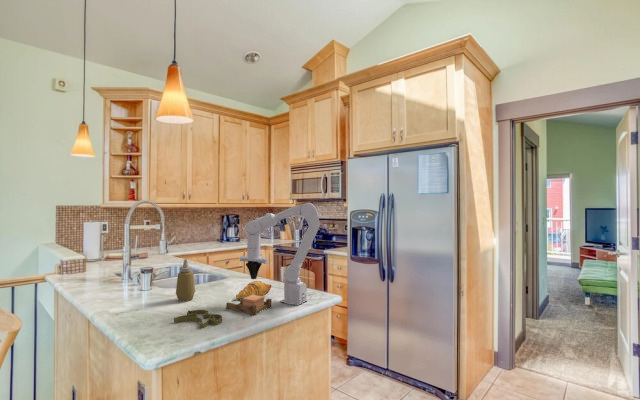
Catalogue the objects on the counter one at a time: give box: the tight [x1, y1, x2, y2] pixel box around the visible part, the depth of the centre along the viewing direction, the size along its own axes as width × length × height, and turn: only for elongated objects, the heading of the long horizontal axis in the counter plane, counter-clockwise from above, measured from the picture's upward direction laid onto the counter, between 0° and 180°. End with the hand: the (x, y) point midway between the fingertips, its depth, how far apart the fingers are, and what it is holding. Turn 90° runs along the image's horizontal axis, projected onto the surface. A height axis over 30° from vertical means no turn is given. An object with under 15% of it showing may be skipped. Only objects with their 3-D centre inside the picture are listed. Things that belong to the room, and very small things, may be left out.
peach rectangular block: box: [243, 295, 265, 308], centre depth 136 cm, size 6×6×4 cm
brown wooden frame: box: [225, 298, 272, 316], centre depth 138 cm, size 15×11×4 cm
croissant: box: [235, 280, 272, 300], centre depth 157 cm, size 21×10×8 cm, turn 144°
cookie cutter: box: [173, 309, 223, 329], centre depth 124 cm, size 18×12×2 cm, turn 65°
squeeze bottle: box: [175, 258, 196, 302], centre depth 150 cm, size 8×8×18 cm
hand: (253, 278), depth 148 cm, fingers closed
